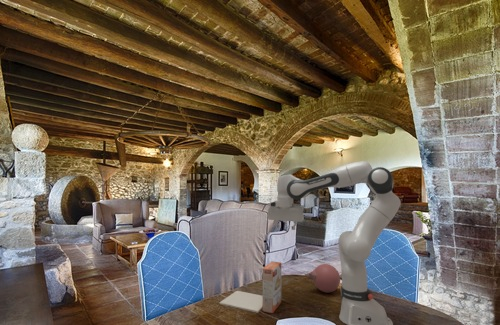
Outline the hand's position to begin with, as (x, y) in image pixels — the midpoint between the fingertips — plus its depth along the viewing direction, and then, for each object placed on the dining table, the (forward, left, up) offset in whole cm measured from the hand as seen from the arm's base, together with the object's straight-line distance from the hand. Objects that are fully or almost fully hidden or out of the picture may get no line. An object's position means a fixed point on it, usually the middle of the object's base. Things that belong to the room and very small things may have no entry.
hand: (285, 229), depth 152 cm
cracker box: (+3, +11, -38) cm, 40 cm away
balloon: (-15, -21, -38) cm, 45 cm away
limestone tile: (+18, +11, -38) cm, 43 cm away
